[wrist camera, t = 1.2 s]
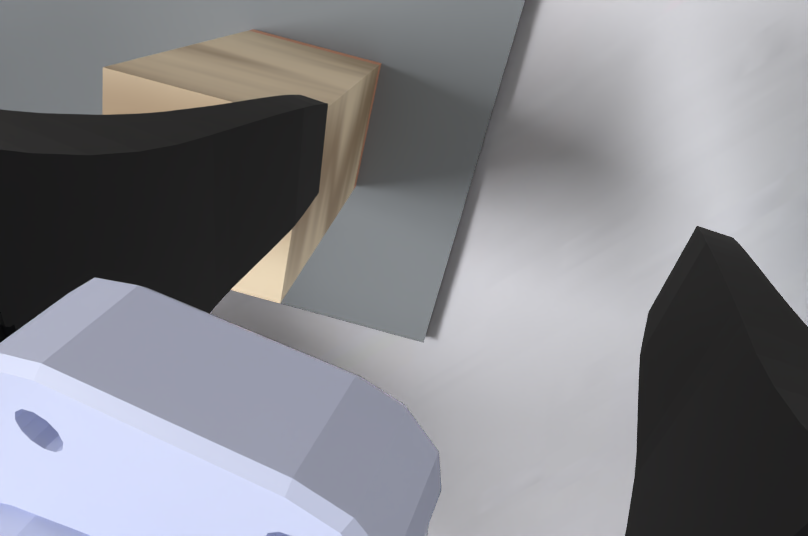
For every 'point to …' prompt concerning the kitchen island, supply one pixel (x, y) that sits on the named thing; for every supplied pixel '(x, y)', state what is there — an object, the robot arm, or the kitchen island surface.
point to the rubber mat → (386, 136)
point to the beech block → (257, 78)
